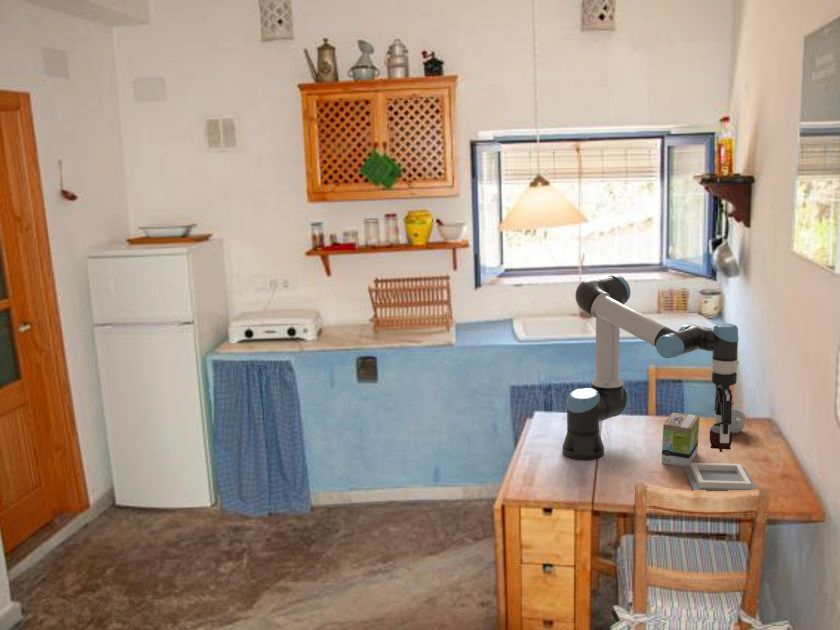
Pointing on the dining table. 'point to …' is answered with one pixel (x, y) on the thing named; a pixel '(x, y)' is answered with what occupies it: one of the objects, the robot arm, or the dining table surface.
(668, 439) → the tea box
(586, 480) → the dining table surface
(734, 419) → the teacup
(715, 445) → the mate gourd
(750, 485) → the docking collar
